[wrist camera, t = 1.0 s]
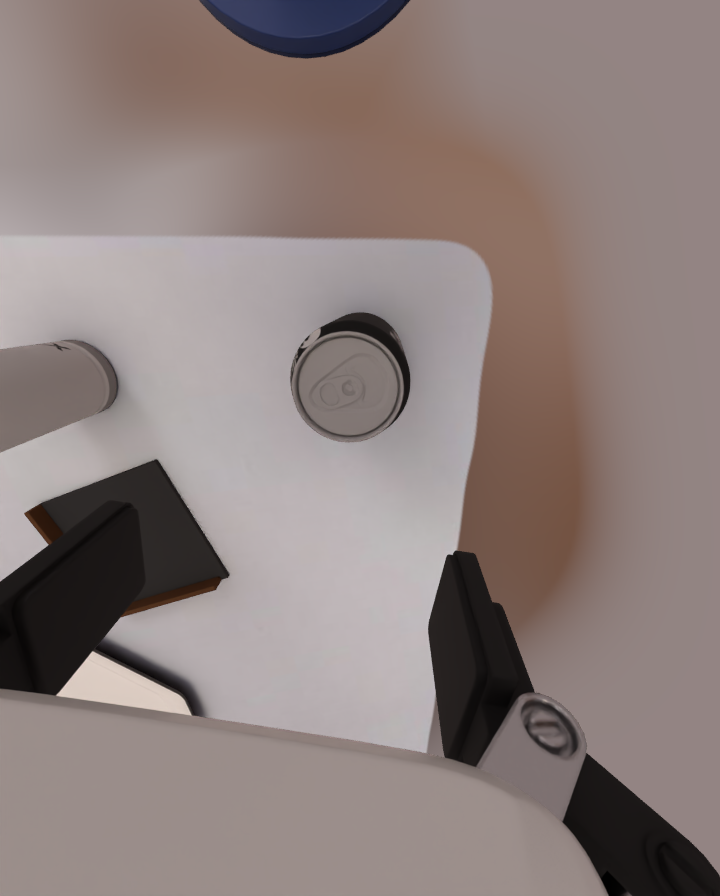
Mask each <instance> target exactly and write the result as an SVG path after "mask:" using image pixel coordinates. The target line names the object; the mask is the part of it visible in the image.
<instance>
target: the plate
mask: <svg viewBox="0 0 720 896" xmlns="http://www.w3.org/2000/svg"><path fill="white" fill-rule="evenodd" d="M56 696H61V697H68V698H75V699H82V700H89V701H96V702H103V703H110V704H117V705H124V706H131V707H138V708H145V709H151V710H158V711H165V712H171V713H178V714H185V715H192V716H194V714H193V712H192V710H191V708H190V705H189V703H188V701H187V699H186V697H185V696H184V695H183V694H182V693H181V692H179V691H177V690H175V689H174V688H172V687H170V686H168V685H166V684H164V683H162V682H160V681H158V680H156V679H154V678H152V677H150V676H148V675H146V674H144V673H142V672H140V671H138V670H136V669H134V668H132V667H130V666H128V665H126V664H124V663H122V662H120V661H118V660H116V659H114V658H112V657H110V656H108V655H106V654H104V653H102V652H100V651H98V650H96V649H94V650H93V651H92V653H91V654H90V655H89V656H88V658H87V659H86V660H85V661H84V662H83V664H82V665H81V666H80V667H79V669H78V670H77V671H76V672H75V674H74V675H73V676H72V677H71V678H70V680H69V681H68V682H67V683H66V685H65V686H64V687H63V688H62V690H61V691H60V692H59V693H58V694H57V695H56Z"/></svg>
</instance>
